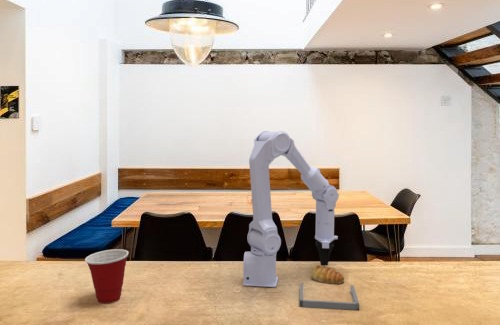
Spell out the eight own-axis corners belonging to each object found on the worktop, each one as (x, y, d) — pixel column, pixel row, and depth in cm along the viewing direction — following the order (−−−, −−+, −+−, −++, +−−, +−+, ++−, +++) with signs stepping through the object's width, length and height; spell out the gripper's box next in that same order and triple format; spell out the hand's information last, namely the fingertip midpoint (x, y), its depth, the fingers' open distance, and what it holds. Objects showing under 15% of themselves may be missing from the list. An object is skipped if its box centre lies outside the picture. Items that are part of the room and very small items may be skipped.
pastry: (347, 280, 123) (347, 268, 123) (338, 287, 118) (338, 274, 118) (318, 274, 129) (318, 262, 128) (308, 281, 123) (309, 268, 123)
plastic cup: (85, 294, 112) (84, 250, 111) (126, 289, 116) (126, 246, 115) (86, 310, 102) (85, 262, 101) (132, 303, 106) (131, 257, 105)
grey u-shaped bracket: (299, 306, 104) (299, 300, 104) (300, 287, 117) (300, 282, 117) (359, 310, 102) (359, 304, 102) (353, 290, 115) (353, 285, 115)
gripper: (339, 227, 123) (338, 272, 124) (336, 218, 137) (335, 258, 138) (315, 227, 124) (314, 271, 125) (314, 217, 138) (314, 257, 139)
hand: (324, 264), depth 132 cm, fingers closed
